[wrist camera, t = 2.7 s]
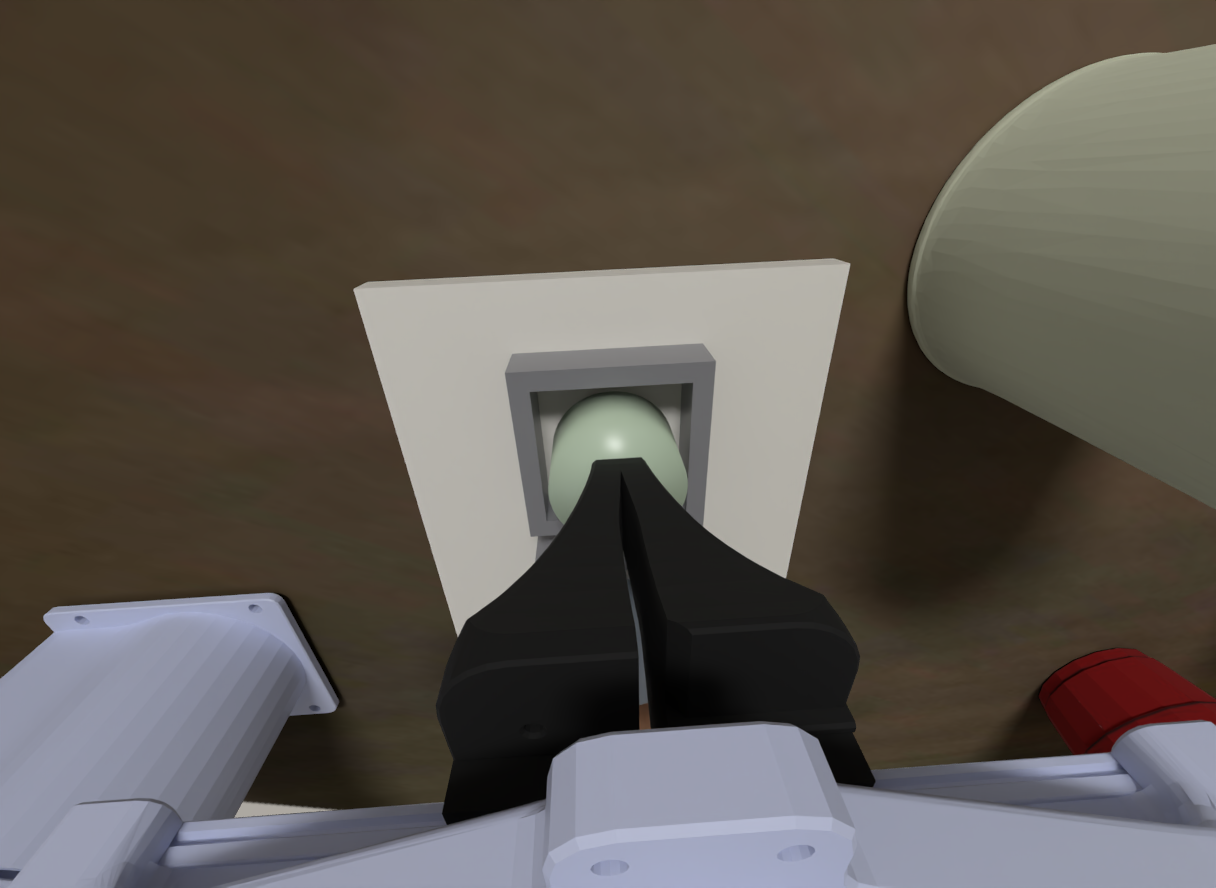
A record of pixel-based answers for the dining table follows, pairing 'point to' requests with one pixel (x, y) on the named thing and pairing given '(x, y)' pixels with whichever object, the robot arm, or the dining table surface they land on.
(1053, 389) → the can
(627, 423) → the sage button
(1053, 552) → the dining table surface
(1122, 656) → the plastic cup
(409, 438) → the console
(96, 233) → the dining table surface
